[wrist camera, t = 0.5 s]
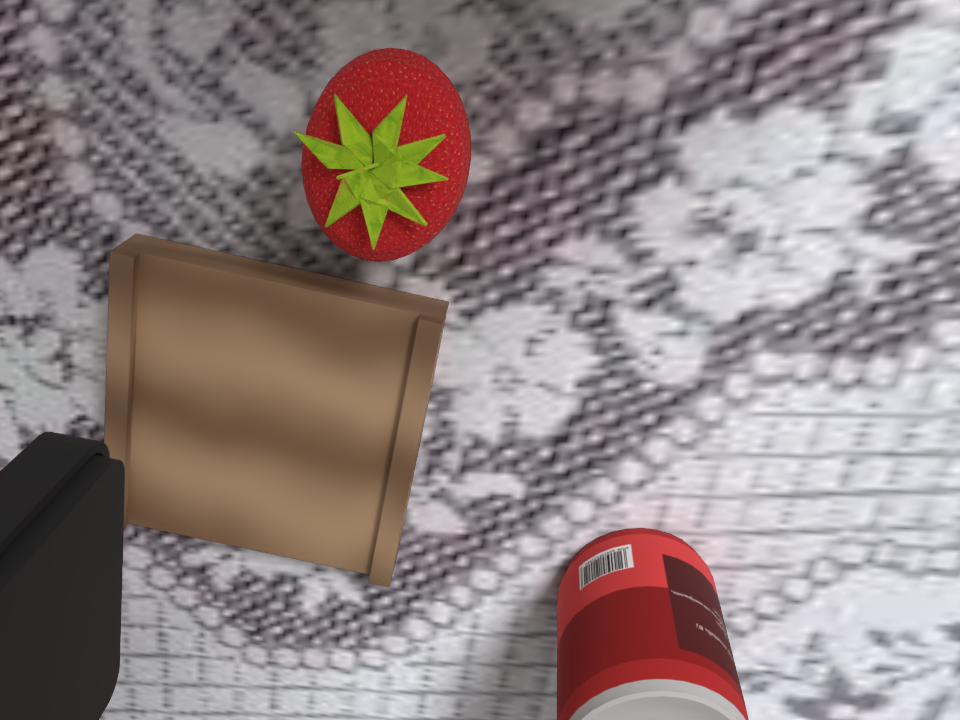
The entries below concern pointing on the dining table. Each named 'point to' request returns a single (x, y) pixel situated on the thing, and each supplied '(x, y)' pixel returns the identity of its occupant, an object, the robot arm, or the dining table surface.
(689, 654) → the canned food
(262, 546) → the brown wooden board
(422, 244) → the strawberry
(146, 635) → the dining table surface
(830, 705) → the dining table surface
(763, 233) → the dining table surface
